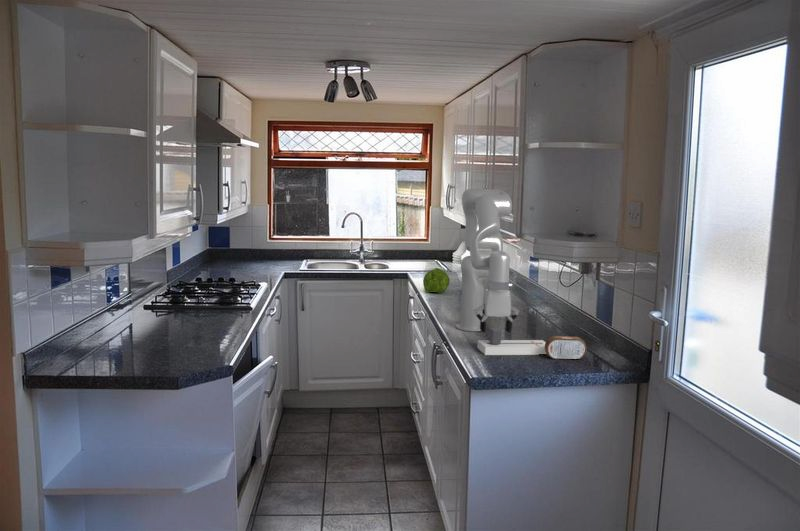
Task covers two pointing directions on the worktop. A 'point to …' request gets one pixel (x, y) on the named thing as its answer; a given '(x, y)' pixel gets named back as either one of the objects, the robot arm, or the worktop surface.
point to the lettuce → (436, 281)
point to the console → (512, 347)
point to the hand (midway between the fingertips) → (495, 331)
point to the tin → (565, 347)
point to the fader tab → (494, 335)
